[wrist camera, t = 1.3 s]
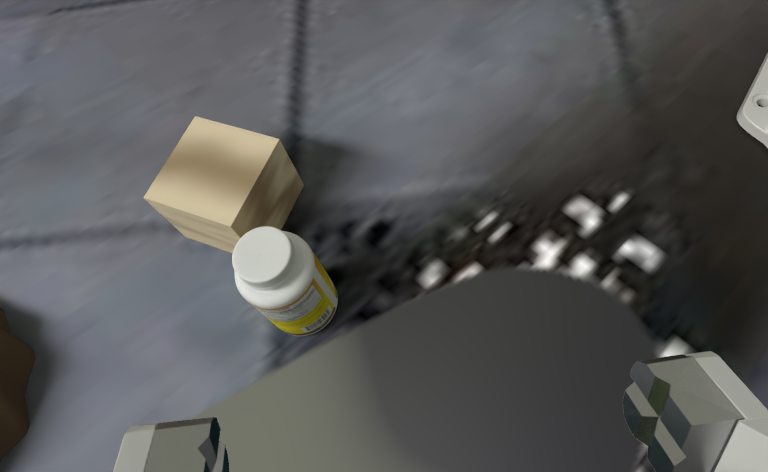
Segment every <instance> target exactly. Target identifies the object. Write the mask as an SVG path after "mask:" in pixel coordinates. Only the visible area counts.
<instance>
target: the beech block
mask: <svg viewBox="0 0 768 472" xmlns="http://www.w3.org/2000/svg"><path fill="white" fill-rule="evenodd" d="M303 187H304V184H303V182H302V180H301V178H300V176H299V175H298V173H297V171H296V169H295V167H294V165H293V163H292V162H291V160H290V158H289V156H288V154H287V152H286V150H285V149H284V147H283V145H282V143H281V141H280V139H277V138H274V137H270V136H266V135H263V134H259V133H255V132H252V131H248V130H244V129H240V128H237V127H233V126H229V125H226V124H222V123H218V122H215V121H211V120H207V119H203V118H200V117H196V116H195V118H194V119H193V121H192V122H191V124H190V125H189V127H188V129H187V130H186V132H185V133H184V135H183V136H182V138H181V139H180V141H179V143H178V144H177V146H176V147H175V149H174V150H173V152H172V154H171V155H170V157H169V158H168V160H167V161H166V163H165V165H164V166H163V168H162V169H161V171H160V172H159V174H158V176H157V177H156V179H155V180H154V182H153V183H152V185H151V187H150V188H149V190H148V191H147V193H146V194H145V196H144V199H145V200H146V201H148V202H149V203H150V204H151V205H152V206H153V207H154V208H155V209H156V210H157V211H158V212H159V213H161V214H162V215H163V216H164V217H165V218H166V219H167V220H168V221H169V222H170V223H171V224H172V225H173V226H175V227H176V228H177V229H178V230H179V231H180V232H181V233H182V234H183V235H184V236H185V237H187V238H190V239H193V240H196V241H199V242H202V243H204V244H207V245H210V246H213V247H216V248H219V249H222V250H224V251H227V252H230V253H233V251H234V248H235V246H236V244H237V242H238V241H239V240H240V238H241V237H242V236H243V235H245V234H246V233H247V232H249V231H251V230H253V229H255V228H258V227H264V226H269V227H274V228H277V229H279V230H281V229H282V227H283V225H284V223H285V221H286V220H287V218H288V216H289V214H290V212H291V210H292V208H293V206H294V204H295V202H296V200H297V198H298V196H299V195H300V193H301V191H302V189H303Z"/></svg>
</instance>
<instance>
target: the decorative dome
mask: <svg viewBox="0 0 768 472" xmlns="http://www.w3.org/2000/svg"><path fill="white" fill-rule="evenodd" d="M34 361H35V353H34V351H33V350H32V349H30V348H29V347H28V346H26V345H25V344H23V343H22V342H21V341H19V340H18V339H16V338H14V337H13V336H11V333H10V330H9V327H8V323H7V320H6V316H5V313H4V311H3V310H2V309H0V461H1V460H2V459H3V458H4V457H5V456H6V455H7V454H8V453H9V452H10V450H11V449H12V448H13V447H14V446H15V445H16V444H17V443H18V442H19V441H20V440H21V439H22V438H23V437H24V436H25V435H26V433H27V431H28V428H29V422H28V415H27V409H26V403H25V396H24V391H25V388H26V385H27V382H28V379H29V376H30V373H31V370H32V367H33V364H34Z"/></svg>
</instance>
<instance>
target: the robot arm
mask: <svg viewBox="0 0 768 472" xmlns="http://www.w3.org/2000/svg"><path fill="white" fill-rule="evenodd" d="M757 104H758V105H761V106H763V107H760V106H758V105H757ZM737 121H738V123H739V124H740V125H741V127H742V128H743V129H745V130H746V131H747V132H748V133H749V134H751V135H752V136H753V137H755V138H756V139H758V140H759V141H760V142H762V143H763V144H764V145H765V146H766V147H767V148H768V53H767V55H766V57H765V59H764V61H763V63H762V65H761V67H760V69H759V71H758V73H757V75H756V77H755V79H754V81H753V83H752V85H751V87H750V89H749V91H748V93H747V95H746V97H745V99H744V101H743V103H742V105H741V107H740V109H739V111H738V113H737ZM630 375H631V377H632V379H633V380H634V383H633V384H632V385H631V386H630V387H628V389H626V390H625V394H624V398H623V402H622V403H623V410H624V417H625V419H626V422H627V425H628V427H629V429H630V430H631V432H632V434H633V435H634V437H635V438H636V439H638V440H639V441H641V442H643V443H644V444H646V445H647V446H648V452H647V458H648V460H649V461H650V463H651V465H652V466H653V468H654V470H655V471H656V472H768V410H767V409H766V408H765V407H764V405H763V404H762V403H761V402H760V401H759V400H758V399H757V398H756V397H755V396H754V394H753V393H752V392H751V391H750V390H749V389H748V388H747V387H746V386H745V384H744V383H743V382H742V381H741V380H740V379H739V378H738V377H737V376H736V374H735V373H734V372H733V371H732V370H731V369H730V368H729V367H728V366H727V365H726V363H725V362H724V361H723V360H722V359H721V358H720V357H719V356H718V355H717V354H715V353H713V352H711V351H709V352H701V353H694V354H686V355H676V356H669V357H662V358H655V359H649V360H642V361H637V362H636V363H635V364H634V365H633V367H632V370H631V373H630ZM220 430H221V429H220V426H219V423H218V420H217V418H216V417H212V418H201V419H192V420H182V421H173V422H163V423H156V424H147V425H139V426H130V428H129V429H128V431H127V432H126V433H125V435H124V438H123V441H122V444H121V448H120V451H119V454H118V458H117V461H116V464H115V468H114V471H113V472H229V460H228V453H227V450H226V446H225V444H223V443H221V442H220V441H219V437H220Z"/></svg>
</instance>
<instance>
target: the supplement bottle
mask: <svg viewBox="0 0 768 472" xmlns="http://www.w3.org/2000/svg"><path fill="white" fill-rule="evenodd" d="M232 263H233V267H234V269H235V282H236V285H237V288H238V290H239V292H240V293H241V295H242V296H243V297H244V298H245V299H246V300H247V301H248V302H249V303H250V304H252V305H253V306H254V307H255V308H256V309H257V310H258V311H260V312H261V313H262V314H263V315H264V316H265V317H267V318H268V319H269V320H270V321H271V322H272V323H274V324H275V325H276V326H277V327H278V328H279V329H280V330H282V331H284V332H285V333H288V334H290V335H294V336H307V335H311V334H314V333H316V332H318V331H320V330H321V329H323V328H324V327H325V326H326V325H327V324H328V323H329V322H330V321H331V319H332V317H333V316H334V314H335V311H336V308H337V302H338V297H337V291H336V288H335V286H334V284H333V282H332V280H331V279H330V277H329V276H328V274H327V273H326V271H325V270H324V268H323V267H322V265H321V264H320V262H319V261H318V259H317V258H316V256H315V255H314V253H313V252H312V250H311V248H310V247H309V246H308V244H307V243H306V242H305V241H304V240H303V239H302V238H301V237H299V236H297V235H295V234H293V233H290V232H286V231H281V230H279V229H277V228H274V227H269V226H264V227H258V228H255V229H253V230H251V231H249V232H247V233H246V234H245V235H243V236H242V237H241V238H240V240H239V241H238V242H237V244H236V246H235V248H234V251H233V255H232Z"/></svg>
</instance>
